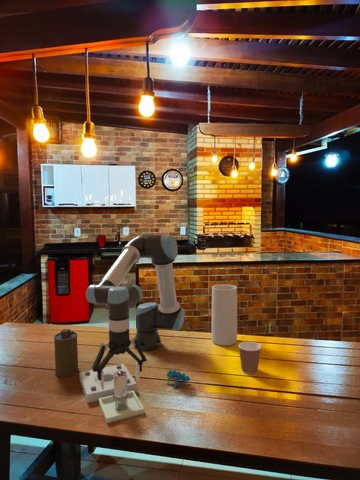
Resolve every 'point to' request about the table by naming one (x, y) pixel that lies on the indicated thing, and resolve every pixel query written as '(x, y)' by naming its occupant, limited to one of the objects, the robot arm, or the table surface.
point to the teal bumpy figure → (177, 375)
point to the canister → (66, 353)
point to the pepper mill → (120, 391)
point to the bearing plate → (93, 384)
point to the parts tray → (114, 415)
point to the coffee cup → (249, 356)
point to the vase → (224, 314)
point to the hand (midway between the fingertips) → (120, 383)
